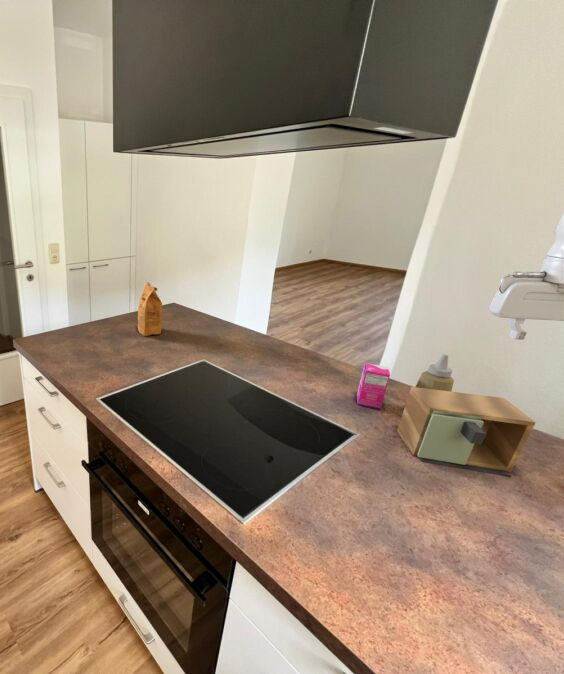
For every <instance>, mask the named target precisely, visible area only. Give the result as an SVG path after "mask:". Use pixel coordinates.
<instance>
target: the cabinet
mask: <svg viewBox="0 0 564 674" xmlns="http://www.w3.org/2000/svg"><path fill="white" fill-rule="evenodd" d="M432 414H437V415H444V416H451V417H459V418H466V419H473V420H480V421H483V422H484V423H483V425H482V428H481V429H482V430H483V431H484V432H485V433H486V435H485V438H484V440H483V442H482V444H481V445H479V444H474V446H473V448H472V451H471V453H470V455H469V458H468V460H467V462H466V464H465V465H463V464H457V463H451V462H445V461H439V460H433V459H427V458H421V457H419V460H420V461H421V462H422V463H429V464H434V465H441V466H445V467H452V468H457V469H464V470H469V471H476V472H480V473H487V474H493V475H499V476H505V477H509V478H511V477H512V474H511V473H512V471H513V469H514V467H515V465H516V464H517V461H518V459H519V457H520V455H521V453H522V451H523V449H524V447H525V446H526V443H527V441H528V439H529V437H530V434H531V433H532V431H533V429H534V427H535V425H536V423H537V422H536V421H535V420H534V419H532V418H531V417H530V416H528V414H526V413H525V412H523V410H520V409H519V408H518V407H517V406H516V405H514V404H513V403H512V402H510V401H509V400H508V399H507V398H506V397H499V396H492V395H491V396H490V395H482V394H474V393H467V392H457V391H452V392H450V391H442V390H434V389H425V388H417V387H415V386H411V387H410V391H409V393H408V396H407V399H406V402H405V405H404V408H403V411H402V414H401V417H400V421H399V424H398V426H397V429H396V432H397V434H398V435H399V436H400V438H401V439H402V441H403V442H404V444H405V445H406V447H407V449H408V450H409V451H410V453H411V455H412V456H414V457H418V456H417V454H418V451H419V449H420V446H421V443H422V441H423V438H424V435H425V432H426V430H427V427H428V424H429V421H430V419H431V416H432Z"/></svg>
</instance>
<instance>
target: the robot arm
mask: <svg viewBox="0 0 564 674" xmlns="http://www.w3.org/2000/svg"><path fill="white" fill-rule="evenodd" d="M488 311H489V312H490V313H491V314H492V315H493V316H496V317H497V318H500V319H507V322H508V325H509V327H510V329H511V330H510V333H509V338H510V339H512V340H520V341H521V340H525V339H526V335H527V333H528V332H527V331H525V330H523V329H522V327H521V325H523V324H524V323H525V321H526V320H534V321H535V320H536V321H556V322H557V321H558V322H564V212H563V213H562V214H561V216H560V219H559V222H558V223H557V226H556V228H555V232H554V242H553V244H552V246H551V247H550V248H549V249H548V250H547V252H546V254H545V256H544V258H543V262H542V264H541V267H540V269H539V271H522V270H521V271H519V270H518V271H513V273H509V274H507V275H505V276H503V277H502V278H501V280H500V283H499V286H498V289H497V291H496V292H495V294H494V296H493V298H492V300H491V302H490V304H489V307H488Z"/></svg>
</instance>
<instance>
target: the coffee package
mask: <svg viewBox="0 0 564 674" xmlns="http://www.w3.org/2000/svg"><path fill="white" fill-rule="evenodd" d="M151 285H152V284H151V283H150V282H149V281H146V283H145V285H144V288H143V290H142V293H141V294H140V298H139V303H138V308H137V330H138V332H139V334H140V335H142V336H143V337H148V336H152V335H153V336H154V335H155V336H157V335H161V334H162V325H163V319H162V317H163V302H162V301H161V299H160V297H159V295H158V294H157V291H158V287H156V286H151Z"/></svg>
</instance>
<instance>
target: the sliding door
mask: <svg viewBox="0 0 564 674" xmlns="http://www.w3.org/2000/svg"><path fill="white" fill-rule="evenodd" d="M483 423H484V422H483V421H480V420H473V419H466V418H459V417H451V416H444V415H437V414H432V416H431V419H430V421H429V424H428V427H427V430H426V432H425V435H424V438H423V441H422V443H421V446H420V449H419V451H418V454H417V456H416V457H417V458H420V457H421V458H427V459H433V460H439V461H445V462H451V463H457V464H463V465H465V464H466V462H467V460H468V458H469V455H470V453H471V451H472V448H473V446H474V444H479V445H481V444H482V442H483V440H484V438H485V435H486V433H485V432H484V431H483V430H482V429H481V428H482V425H483Z"/></svg>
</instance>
